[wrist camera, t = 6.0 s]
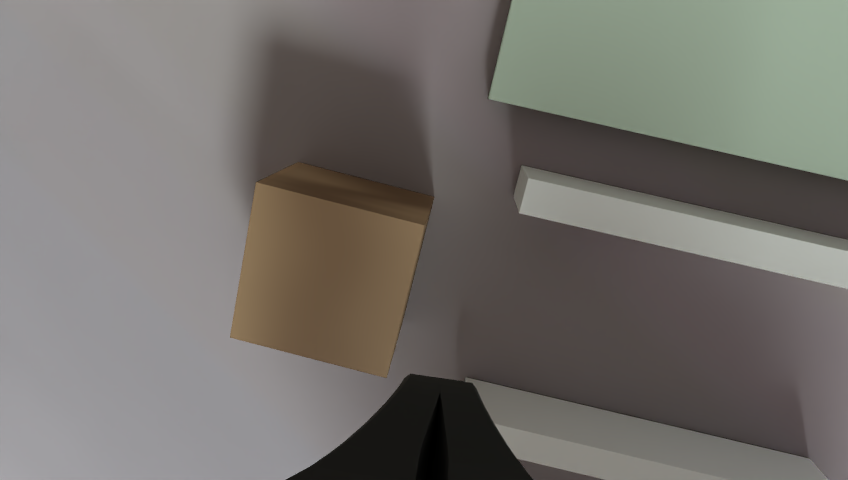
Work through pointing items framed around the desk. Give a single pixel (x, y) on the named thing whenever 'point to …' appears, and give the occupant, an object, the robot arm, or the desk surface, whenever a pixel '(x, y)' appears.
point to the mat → (689, 72)
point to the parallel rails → (629, 436)
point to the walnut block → (329, 266)
